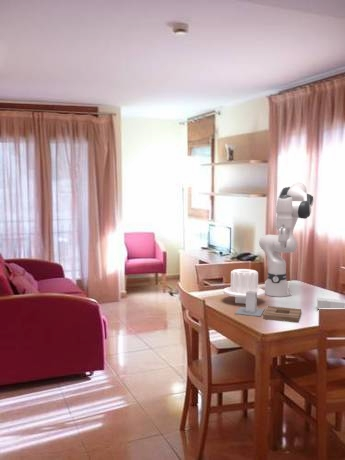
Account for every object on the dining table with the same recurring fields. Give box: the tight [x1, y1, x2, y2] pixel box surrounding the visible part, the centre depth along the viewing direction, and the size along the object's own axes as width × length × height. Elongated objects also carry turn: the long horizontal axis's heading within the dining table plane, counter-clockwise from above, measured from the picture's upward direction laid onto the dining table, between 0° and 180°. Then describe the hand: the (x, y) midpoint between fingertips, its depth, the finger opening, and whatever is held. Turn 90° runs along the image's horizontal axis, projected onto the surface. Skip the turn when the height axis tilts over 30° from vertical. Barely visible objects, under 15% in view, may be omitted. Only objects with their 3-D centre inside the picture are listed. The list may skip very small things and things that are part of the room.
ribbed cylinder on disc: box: [223, 268, 266, 305], centre depth 266 cm, size 25×25×19 cm
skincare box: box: [316, 297, 345, 311], centre depth 248 cm, size 8×6×15 cm
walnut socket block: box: [262, 305, 302, 324], centre depth 236 cm, size 18×18×2 cm
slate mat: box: [234, 306, 266, 318], centre depth 244 cm, size 14×14×1 cm
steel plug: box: [245, 291, 258, 313], centre depth 242 cm, size 5×5×11 cm
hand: (283, 248), depth 246 cm, fingers open, 8 cm apart
